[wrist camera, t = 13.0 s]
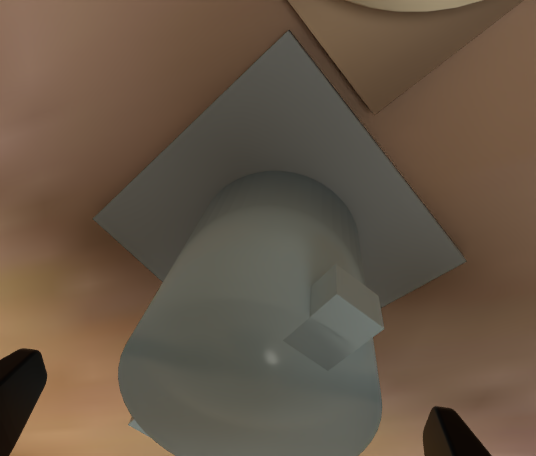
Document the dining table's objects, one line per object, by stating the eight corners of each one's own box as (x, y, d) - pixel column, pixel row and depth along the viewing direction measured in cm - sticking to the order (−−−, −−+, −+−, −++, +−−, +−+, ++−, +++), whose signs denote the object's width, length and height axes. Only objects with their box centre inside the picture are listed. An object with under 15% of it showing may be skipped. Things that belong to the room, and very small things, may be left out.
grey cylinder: (240, 373, 19) (200, 548, 13) (130, 303, 18) (27, 460, 12) (409, 227, 14) (471, 391, 8) (275, 118, 13) (231, 216, 7)
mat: (463, 255, 15) (466, 261, 15) (263, 365, 19) (262, 372, 19) (289, 29, 12) (288, 30, 12) (97, 214, 16) (92, 218, 16)
